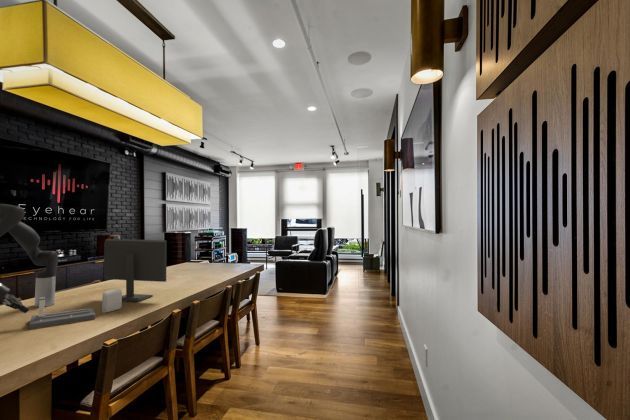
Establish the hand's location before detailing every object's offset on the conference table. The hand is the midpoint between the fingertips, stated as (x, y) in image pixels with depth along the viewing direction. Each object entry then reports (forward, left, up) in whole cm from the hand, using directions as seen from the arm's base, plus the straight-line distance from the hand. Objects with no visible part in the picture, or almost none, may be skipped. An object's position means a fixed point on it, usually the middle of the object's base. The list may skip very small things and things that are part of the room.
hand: (27, 311), depth 154 cm
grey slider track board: (0, +14, -7) cm, 16 cm away
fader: (0, +5, -4) cm, 7 cm away
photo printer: (-5, +36, -7) cm, 37 cm away
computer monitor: (-28, +51, -7) cm, 58 cm away
